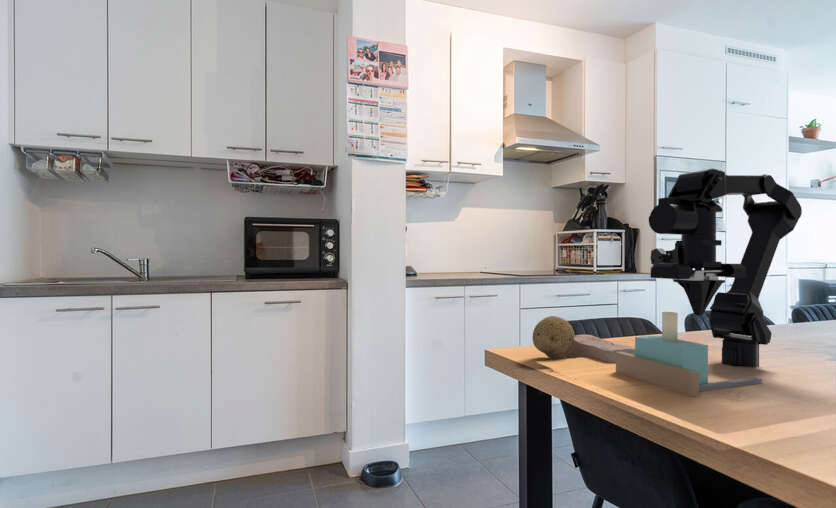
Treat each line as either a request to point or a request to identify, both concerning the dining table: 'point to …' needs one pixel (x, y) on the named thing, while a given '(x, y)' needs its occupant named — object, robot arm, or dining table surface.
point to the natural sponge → (553, 337)
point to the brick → (596, 348)
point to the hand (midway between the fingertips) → (698, 315)
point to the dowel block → (674, 348)
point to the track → (670, 375)
